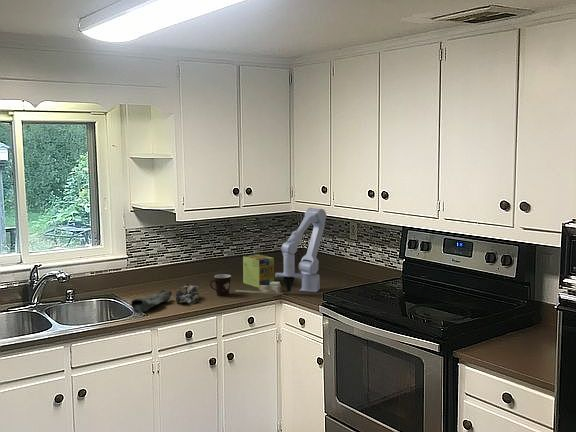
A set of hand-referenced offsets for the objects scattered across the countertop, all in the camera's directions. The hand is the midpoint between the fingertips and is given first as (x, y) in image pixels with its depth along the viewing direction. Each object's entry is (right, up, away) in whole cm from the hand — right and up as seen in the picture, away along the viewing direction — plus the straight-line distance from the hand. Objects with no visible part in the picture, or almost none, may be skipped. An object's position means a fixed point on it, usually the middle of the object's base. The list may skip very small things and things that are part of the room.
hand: (289, 291), depth 325 cm
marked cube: (-8, -1, +8) cm, 11 cm away
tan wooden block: (-10, -2, +3) cm, 11 cm away
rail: (-16, -1, +5) cm, 17 cm away
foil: (-50, -4, -12) cm, 52 cm away
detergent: (-66, -5, -21) cm, 69 cm away
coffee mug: (-36, -2, 0) cm, 36 cm away
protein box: (-17, +1, +23) cm, 29 cm away
